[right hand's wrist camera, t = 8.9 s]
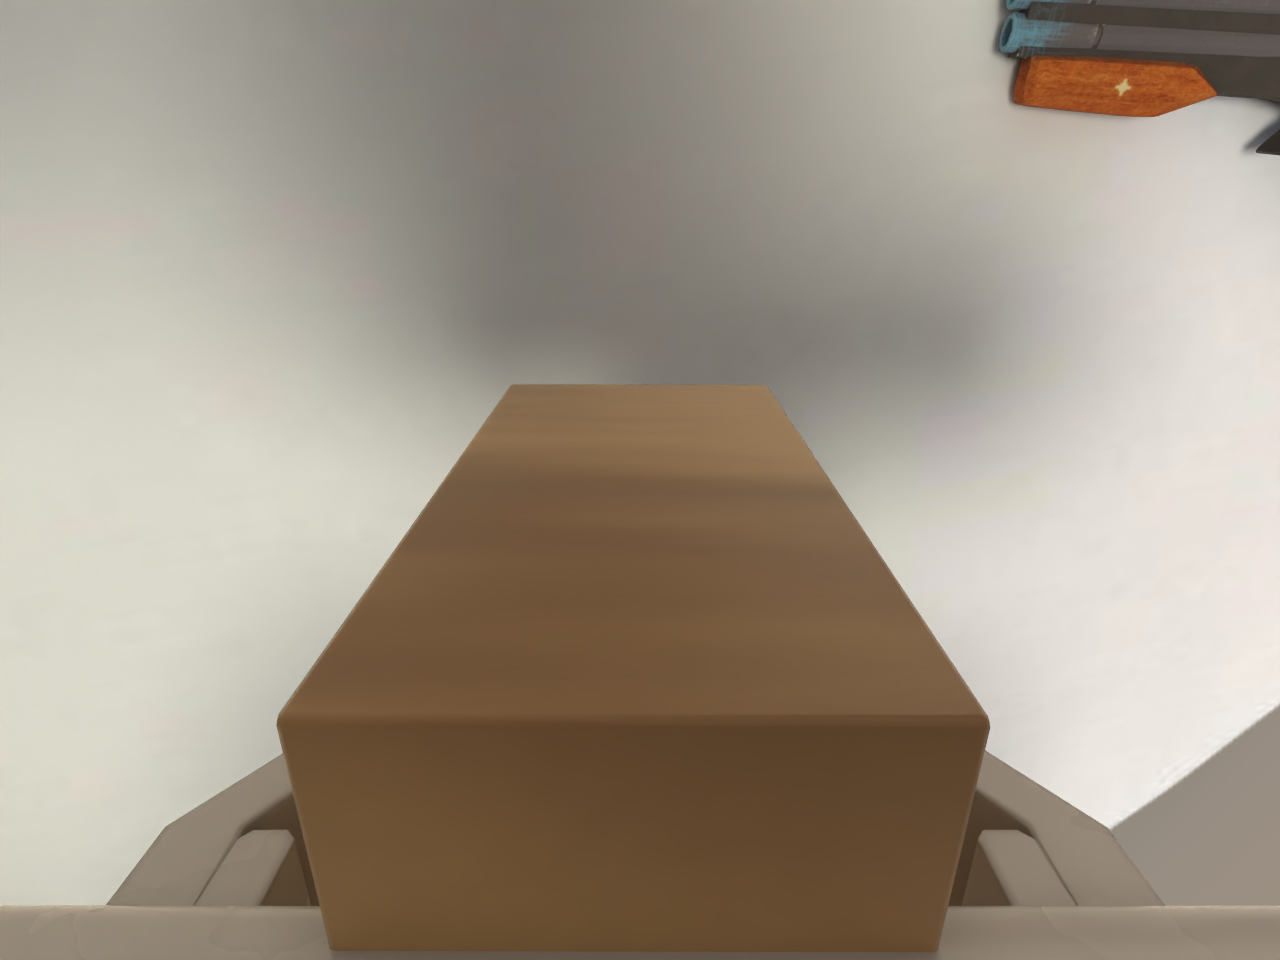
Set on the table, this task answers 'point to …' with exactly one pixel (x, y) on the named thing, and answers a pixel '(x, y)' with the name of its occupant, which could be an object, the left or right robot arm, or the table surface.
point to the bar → (634, 701)
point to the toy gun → (1143, 54)
